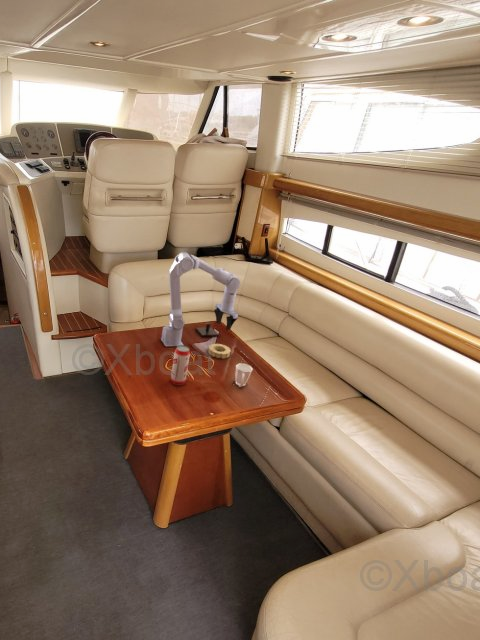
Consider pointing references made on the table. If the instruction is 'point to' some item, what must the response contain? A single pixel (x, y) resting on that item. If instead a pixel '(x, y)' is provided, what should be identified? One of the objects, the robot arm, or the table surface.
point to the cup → (242, 374)
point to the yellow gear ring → (218, 354)
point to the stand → (207, 331)
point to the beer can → (180, 365)
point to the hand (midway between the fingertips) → (223, 326)
